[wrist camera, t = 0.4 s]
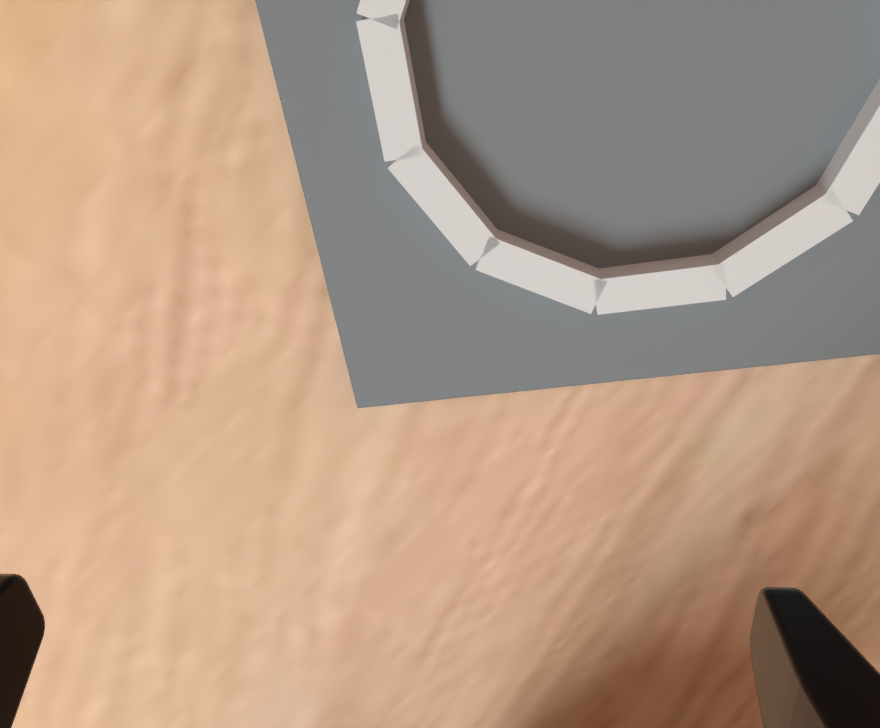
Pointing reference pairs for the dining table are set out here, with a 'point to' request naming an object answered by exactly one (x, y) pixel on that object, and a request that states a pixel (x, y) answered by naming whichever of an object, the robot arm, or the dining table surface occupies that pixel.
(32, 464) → the dining table surface
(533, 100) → the ring mat
